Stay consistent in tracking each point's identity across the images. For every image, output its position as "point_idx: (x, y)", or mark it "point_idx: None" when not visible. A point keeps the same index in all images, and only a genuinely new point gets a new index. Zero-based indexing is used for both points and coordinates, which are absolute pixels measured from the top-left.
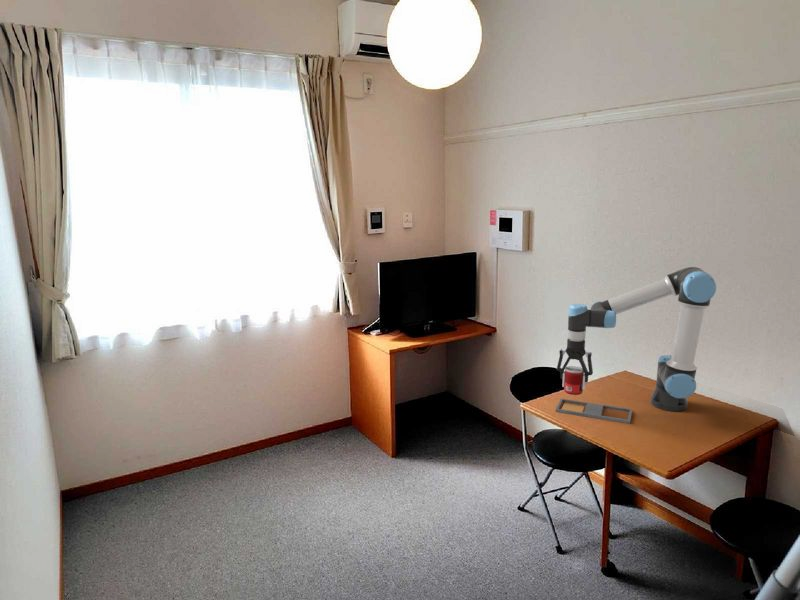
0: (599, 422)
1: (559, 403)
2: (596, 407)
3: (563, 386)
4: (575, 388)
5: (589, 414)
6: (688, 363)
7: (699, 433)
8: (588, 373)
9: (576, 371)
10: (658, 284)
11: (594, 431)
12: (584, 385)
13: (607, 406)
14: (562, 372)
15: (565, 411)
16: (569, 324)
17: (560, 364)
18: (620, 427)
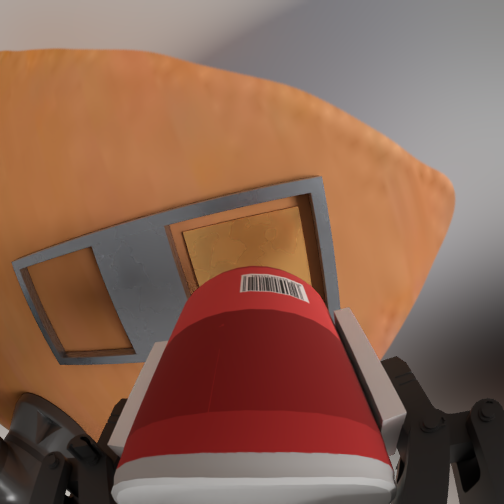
0: (82, 192)
1: (330, 267)
2: (147, 323)
3: (339, 311)
4: (202, 301)
5: (132, 223)
6: None
7: None
8: (80, 474)
9: (190, 496)
10: None
11: (72, 91)
12: (146, 373)
13: (122, 354)
14: (416, 418)
15: (262, 187)
16: None
17: (495, 493)
18: (21, 204)
